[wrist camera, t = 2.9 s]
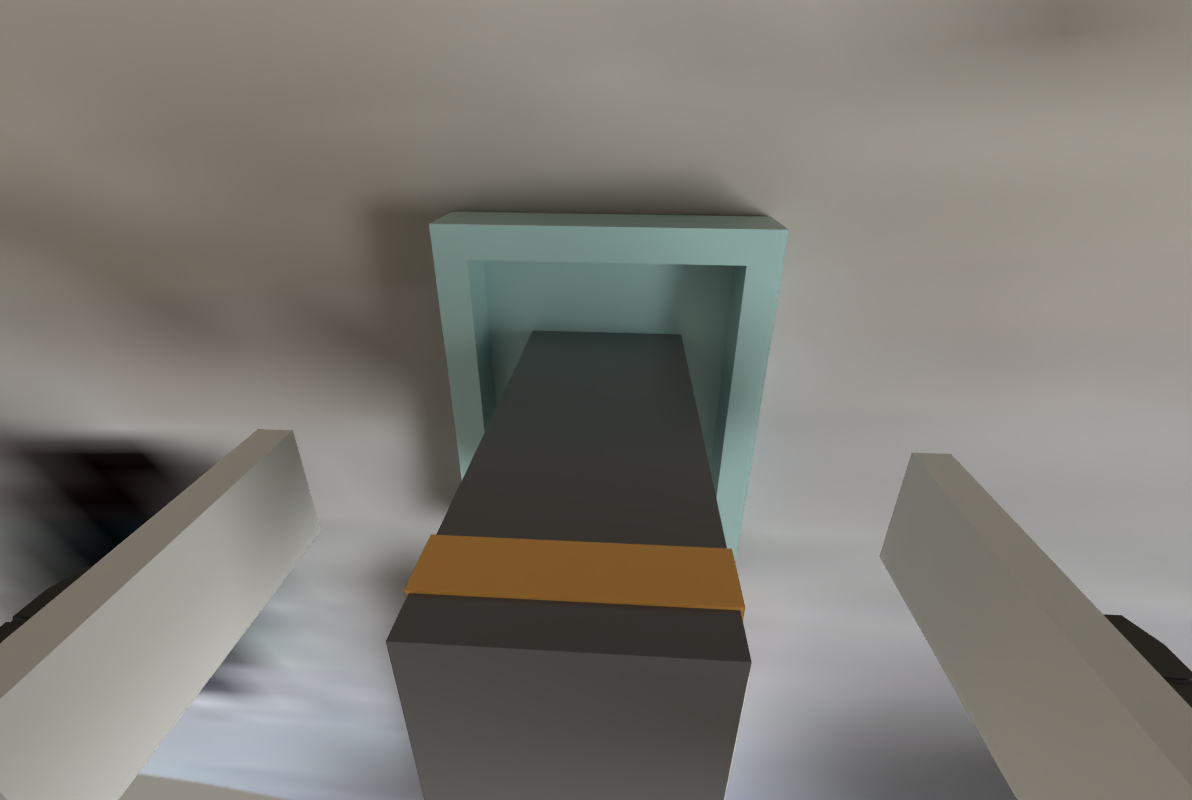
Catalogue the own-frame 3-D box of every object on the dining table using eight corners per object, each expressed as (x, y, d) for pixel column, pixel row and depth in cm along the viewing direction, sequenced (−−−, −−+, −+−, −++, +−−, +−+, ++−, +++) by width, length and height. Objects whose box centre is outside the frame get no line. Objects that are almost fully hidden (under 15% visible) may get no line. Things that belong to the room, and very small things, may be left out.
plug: (531, 328, 15) (380, 638, 6) (683, 332, 15) (757, 659, 6) (537, 456, 17) (429, 834, 8) (672, 461, 17) (716, 856, 8)
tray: (452, 211, 14) (428, 223, 12) (770, 216, 14) (788, 230, 12) (485, 521, 19) (471, 559, 17) (725, 532, 18) (733, 572, 17)
